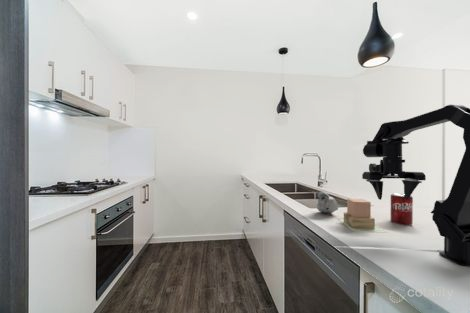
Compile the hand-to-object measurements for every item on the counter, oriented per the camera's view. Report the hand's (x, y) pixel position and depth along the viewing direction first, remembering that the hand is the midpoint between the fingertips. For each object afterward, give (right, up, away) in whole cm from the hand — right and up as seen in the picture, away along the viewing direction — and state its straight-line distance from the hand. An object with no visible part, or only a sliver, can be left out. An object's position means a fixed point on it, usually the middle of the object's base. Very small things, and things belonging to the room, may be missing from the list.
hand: (393, 199), depth 75 cm
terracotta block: (-8, -8, +7) cm, 14 cm away
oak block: (-8, -12, +7) cm, 16 cm away
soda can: (+12, -13, +11) cm, 21 cm away
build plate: (-7, -12, +8) cm, 17 cm away
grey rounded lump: (-14, -13, +23) cm, 30 cm away
